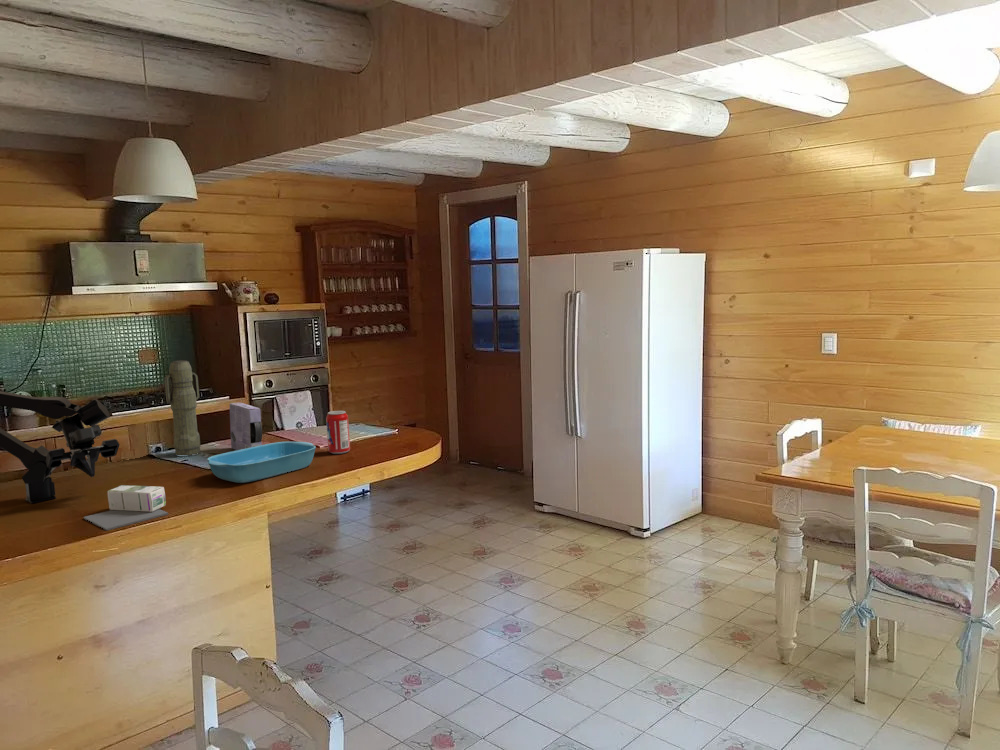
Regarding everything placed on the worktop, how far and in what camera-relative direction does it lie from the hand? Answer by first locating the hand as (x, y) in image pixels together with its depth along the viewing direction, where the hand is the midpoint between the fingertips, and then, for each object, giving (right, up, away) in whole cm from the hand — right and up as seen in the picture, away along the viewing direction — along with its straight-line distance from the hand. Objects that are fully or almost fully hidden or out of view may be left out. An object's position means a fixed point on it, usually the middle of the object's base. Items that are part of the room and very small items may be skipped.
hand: (93, 476), depth 214 cm
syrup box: (+9, -5, -6) cm, 12 cm away
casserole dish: (+40, -3, +31) cm, 51 cm away
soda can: (+60, +1, +55) cm, 81 cm away
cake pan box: (+24, 0, +61) cm, 66 cm away
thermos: (+2, 0, +61) cm, 61 cm away
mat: (+16, -9, -13) cm, 22 cm away
